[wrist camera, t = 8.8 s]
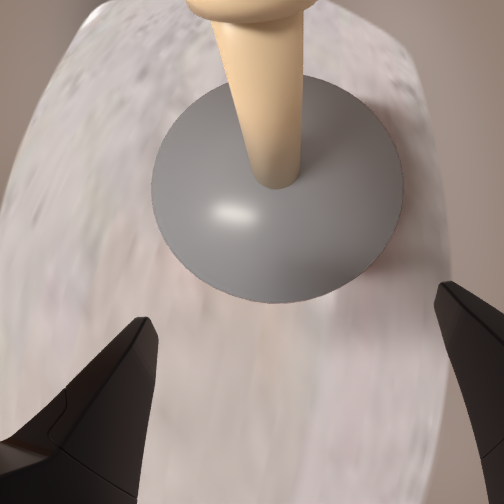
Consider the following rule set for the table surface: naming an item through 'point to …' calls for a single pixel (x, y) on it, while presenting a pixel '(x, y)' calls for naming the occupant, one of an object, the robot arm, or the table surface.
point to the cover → (274, 167)
